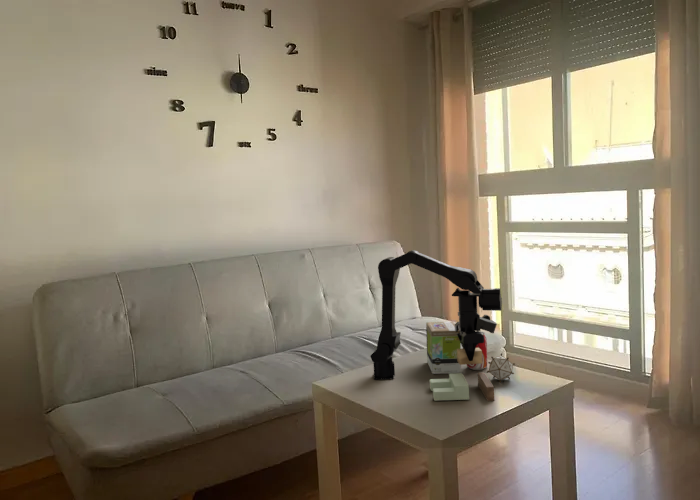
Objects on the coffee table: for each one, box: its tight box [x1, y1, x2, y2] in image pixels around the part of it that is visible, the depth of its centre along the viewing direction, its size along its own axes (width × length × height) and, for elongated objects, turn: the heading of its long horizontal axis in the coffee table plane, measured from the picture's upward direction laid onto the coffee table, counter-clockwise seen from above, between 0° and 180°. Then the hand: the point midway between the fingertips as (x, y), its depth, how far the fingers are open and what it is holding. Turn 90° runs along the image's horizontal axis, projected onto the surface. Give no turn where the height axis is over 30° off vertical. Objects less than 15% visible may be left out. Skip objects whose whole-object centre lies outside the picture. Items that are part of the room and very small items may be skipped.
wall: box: [477, 371, 495, 402], centre depth 173 cm, size 2×14×4 cm, turn 178°
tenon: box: [457, 347, 482, 366], centre depth 183 cm, size 7×4×4 cm, turn 92°
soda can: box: [466, 331, 488, 371], centre depth 197 cm, size 7×7×12 cm
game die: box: [486, 353, 516, 384], centre depth 183 cm, size 9×8×10 cm
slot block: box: [429, 372, 470, 402], centre depth 173 cm, size 10×12×4 cm
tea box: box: [425, 321, 462, 375], centre depth 200 cm, size 15×10×15 cm, turn 179°
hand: (469, 358), depth 183 cm, fingers closed on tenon, 4 cm apart
